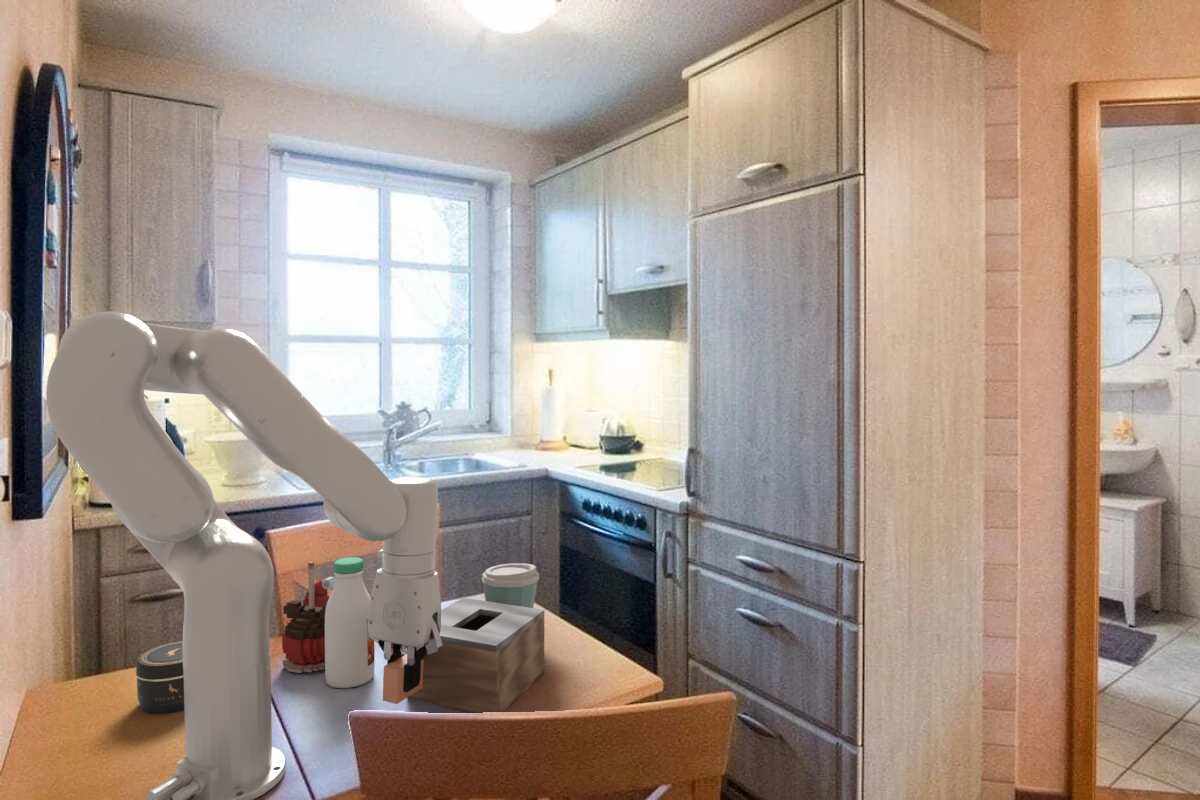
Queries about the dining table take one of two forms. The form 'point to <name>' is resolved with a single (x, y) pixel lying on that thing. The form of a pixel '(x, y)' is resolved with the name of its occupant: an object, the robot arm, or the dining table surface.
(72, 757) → the dining table surface
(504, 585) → the disposable coffee cup
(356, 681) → the milk bottle
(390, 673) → the block
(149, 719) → the dining table surface
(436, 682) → the coin box
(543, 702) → the dining table surface
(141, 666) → the jar
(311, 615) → the chocolate candy apple
